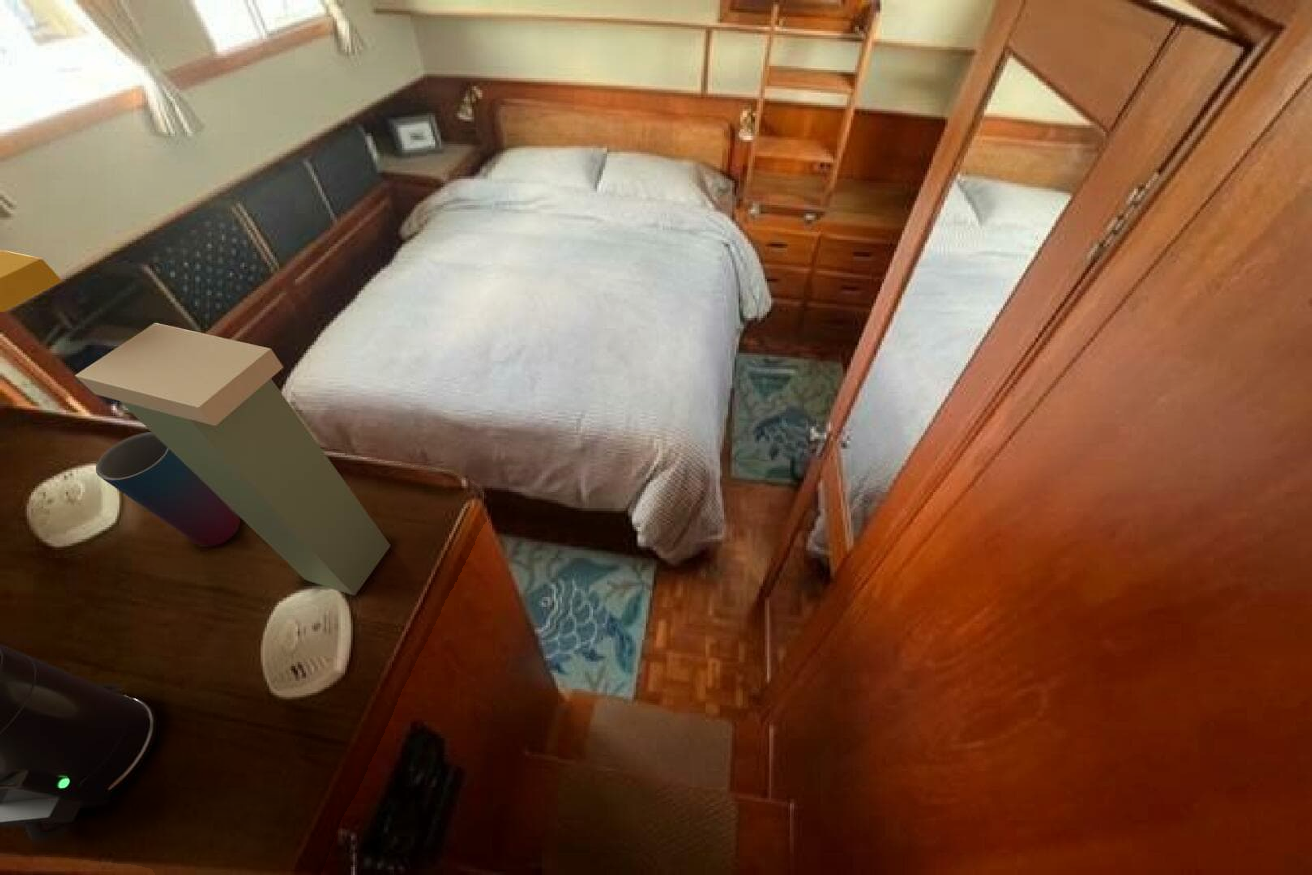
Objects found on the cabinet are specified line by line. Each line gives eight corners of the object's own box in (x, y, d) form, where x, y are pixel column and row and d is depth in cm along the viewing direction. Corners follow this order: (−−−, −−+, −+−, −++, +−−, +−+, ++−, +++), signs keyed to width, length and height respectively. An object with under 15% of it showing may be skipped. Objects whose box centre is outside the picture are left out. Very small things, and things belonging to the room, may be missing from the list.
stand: (408, 550, 67) (271, 348, 43) (373, 601, 63) (198, 407, 39) (327, 527, 69) (155, 322, 46) (288, 574, 65) (74, 375, 41)
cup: (229, 553, 67) (144, 480, 56) (175, 552, 67) (79, 479, 56) (258, 508, 71) (184, 432, 60) (207, 507, 71) (124, 431, 60)
